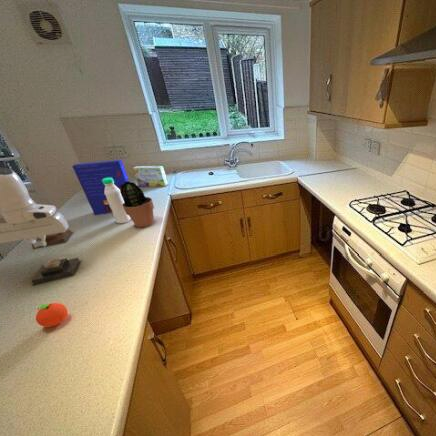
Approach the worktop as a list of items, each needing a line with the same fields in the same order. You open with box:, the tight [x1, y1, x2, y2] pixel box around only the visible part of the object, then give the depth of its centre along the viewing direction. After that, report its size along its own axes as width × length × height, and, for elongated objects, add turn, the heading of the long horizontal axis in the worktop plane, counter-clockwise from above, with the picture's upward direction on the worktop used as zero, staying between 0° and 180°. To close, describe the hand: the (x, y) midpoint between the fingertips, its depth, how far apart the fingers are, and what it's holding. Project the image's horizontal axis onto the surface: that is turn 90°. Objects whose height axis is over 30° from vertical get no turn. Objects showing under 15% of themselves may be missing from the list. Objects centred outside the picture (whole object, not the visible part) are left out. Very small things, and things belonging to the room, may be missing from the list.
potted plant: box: [121, 181, 155, 228], centre depth 126 cm, size 14×14×25 cm
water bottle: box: [102, 178, 132, 224], centre depth 130 cm, size 7×7×25 cm
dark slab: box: [30, 257, 81, 286], centre depth 96 cm, size 12×10×4 cm
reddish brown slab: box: [31, 229, 73, 250], centre depth 118 cm, size 12×10×4 cm
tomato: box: [35, 302, 68, 328], centre depth 74 cm, size 8×7×7 cm
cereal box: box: [72, 158, 130, 216], centre depth 142 cm, size 22×6×30 cm, turn 111°
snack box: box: [132, 165, 169, 187], centre depth 183 cm, size 21×6×15 cm, turn 88°
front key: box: [44, 258, 61, 269], centre depth 95 cm, size 4×4×2 cm
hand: (41, 246), depth 91 cm, fingers closed
